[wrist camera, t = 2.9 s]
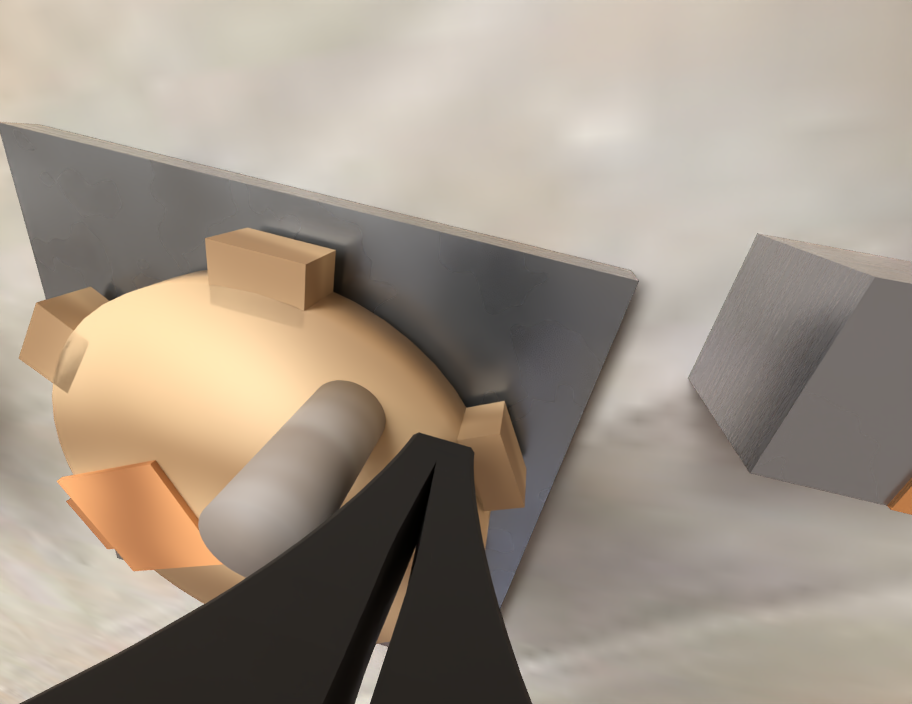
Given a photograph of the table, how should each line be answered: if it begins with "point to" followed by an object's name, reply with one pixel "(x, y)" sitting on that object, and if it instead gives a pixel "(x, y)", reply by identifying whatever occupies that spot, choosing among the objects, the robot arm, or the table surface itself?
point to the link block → (816, 369)
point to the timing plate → (344, 282)
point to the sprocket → (243, 411)
